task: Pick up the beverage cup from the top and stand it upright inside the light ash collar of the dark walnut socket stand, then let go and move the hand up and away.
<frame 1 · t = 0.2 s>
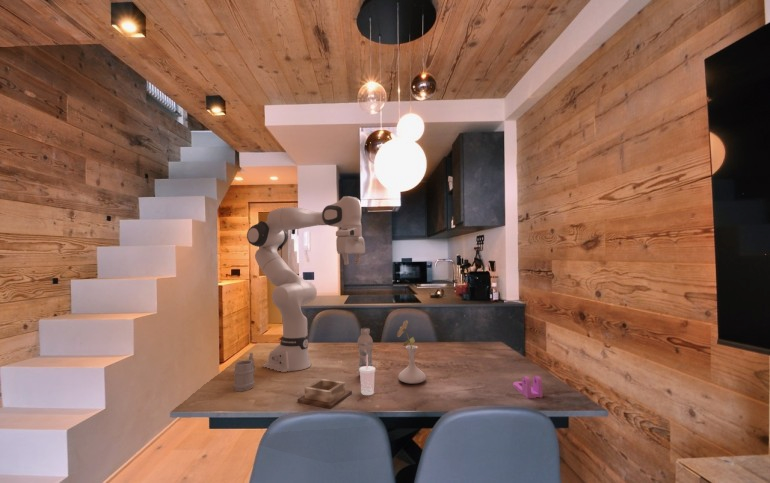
hand: (352, 264, 154), 48 cm above the table, tool pointing down, fingers open, 8 cm apart
socket stand: (325, 397, 127), on the table
beverage cup: (367, 393, 131), on the table
bracket: (525, 391, 131), on the table
mug: (246, 386, 140), on the table
plastic bottle: (365, 376, 150), on the table
flower in vase: (410, 382, 142), on the table
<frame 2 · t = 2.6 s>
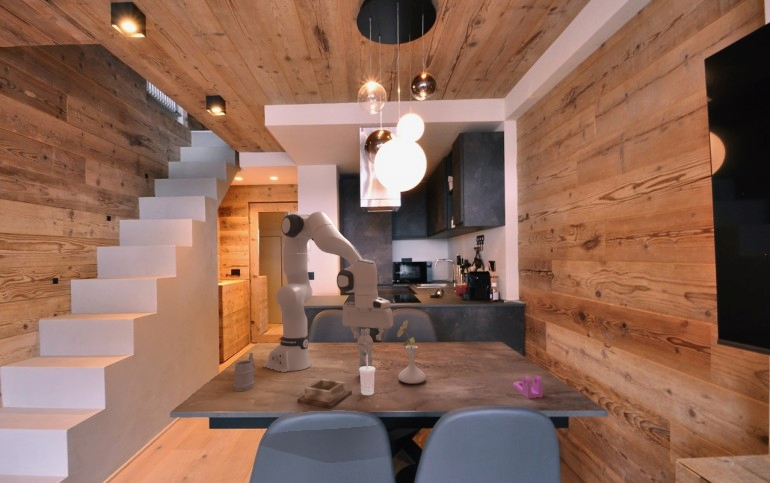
hand: (367, 339, 132), 20 cm above the table, tool pointing down, fingers open, 8 cm apart
nothing on the table moved.
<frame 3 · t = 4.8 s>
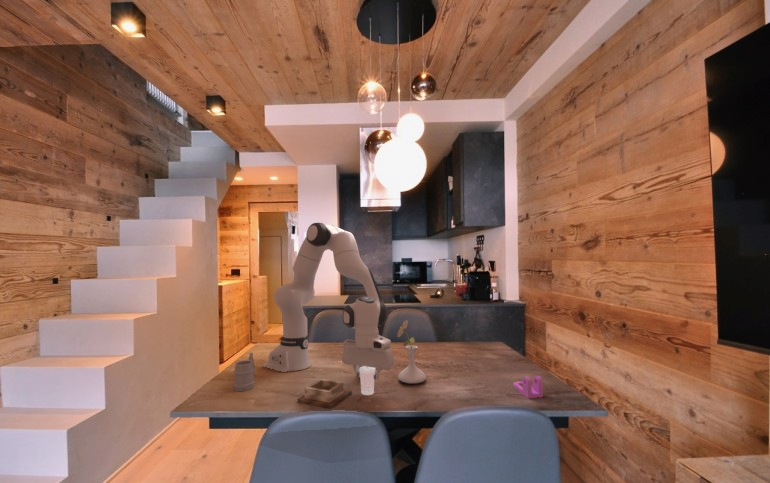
hand: (367, 377, 132), 5 cm above the table, tool pointing down, fingers closed on beverage cup, 6 cm apart
beverage cup: (367, 393, 131), on the table, touching gripper
everything else where it was.
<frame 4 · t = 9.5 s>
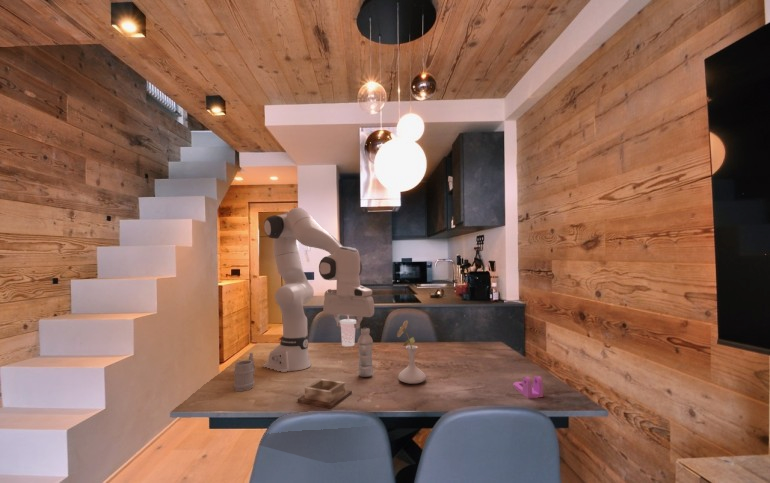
hand: (348, 327, 131), 25 cm above the table, tool pointing down, fingers closed on beverage cup, 6 cm apart
beverage cup: (348, 345, 131), point 18 cm above the table, touching gripper
everything else where it was.
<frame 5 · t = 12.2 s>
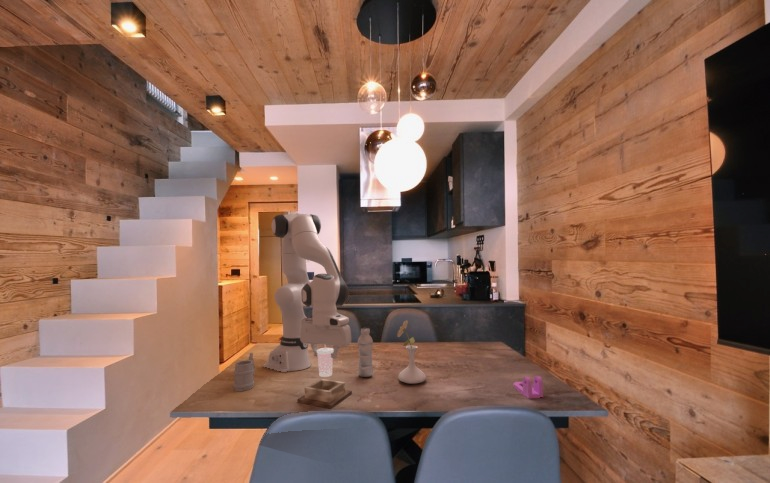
hand: (325, 356, 128), 15 cm above the table, tool pointing down, fingers closed on beverage cup, 6 cm apart
beverage cup: (325, 375, 128), point 8 cm above the table, touching gripper
everything else where it was.
when the fingers open (8 cm above the table, at t = 14.5 s): beverage cup stays where it is, resting on socket stand.
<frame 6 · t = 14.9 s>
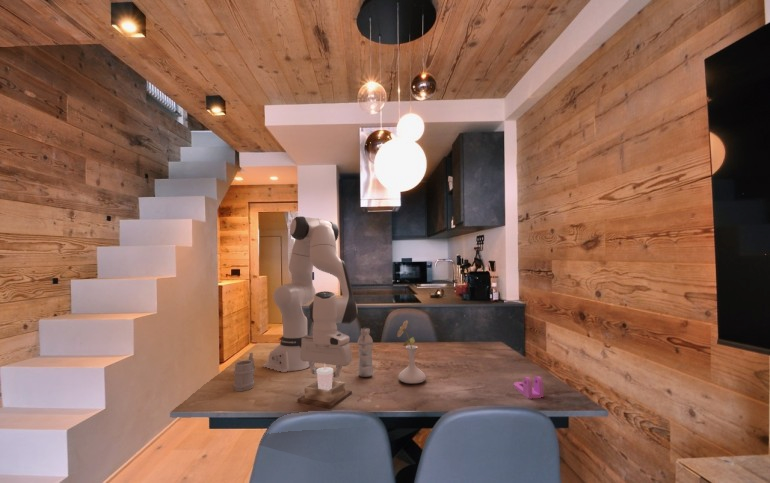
hand: (325, 375, 128), 8 cm above the table, tool pointing down, fingers open, 8 cm apart
beverage cup: (325, 395, 127), point 1 cm above the table, touching socket stand
everything else where it was.
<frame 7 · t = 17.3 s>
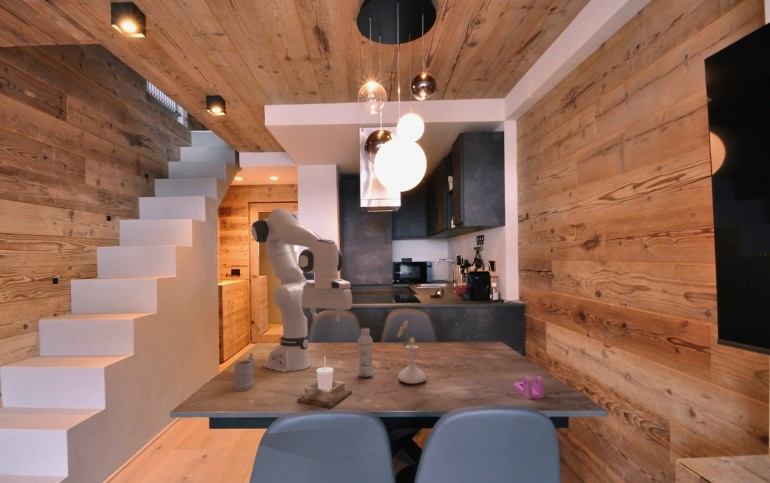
hand: (326, 320, 130), 27 cm above the table, tool pointing down, fingers open, 8 cm apart
nothing on the table moved.
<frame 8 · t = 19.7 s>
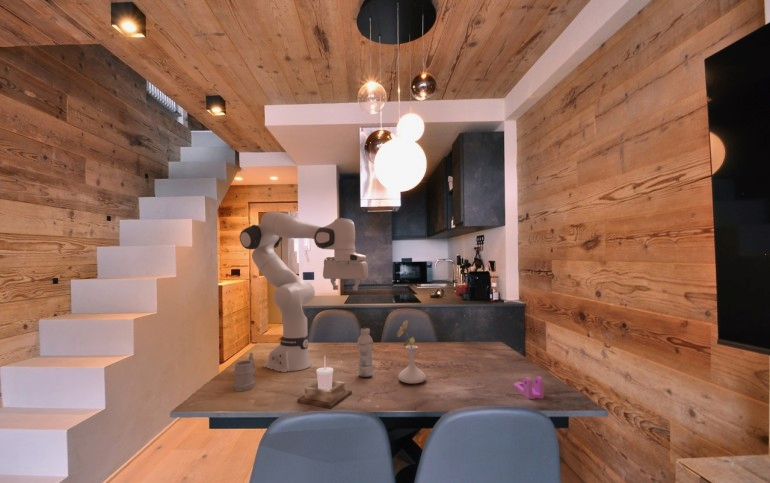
hand: (345, 290, 146), 37 cm above the table, tool pointing down, fingers open, 8 cm apart
nothing on the table moved.
at the end: beverage cup 0.2 cm off-centre on the socket stand, point 0.8 cm above the socket stand's base; beverage cup tilted 0°; the gripper is holding nothing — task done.
